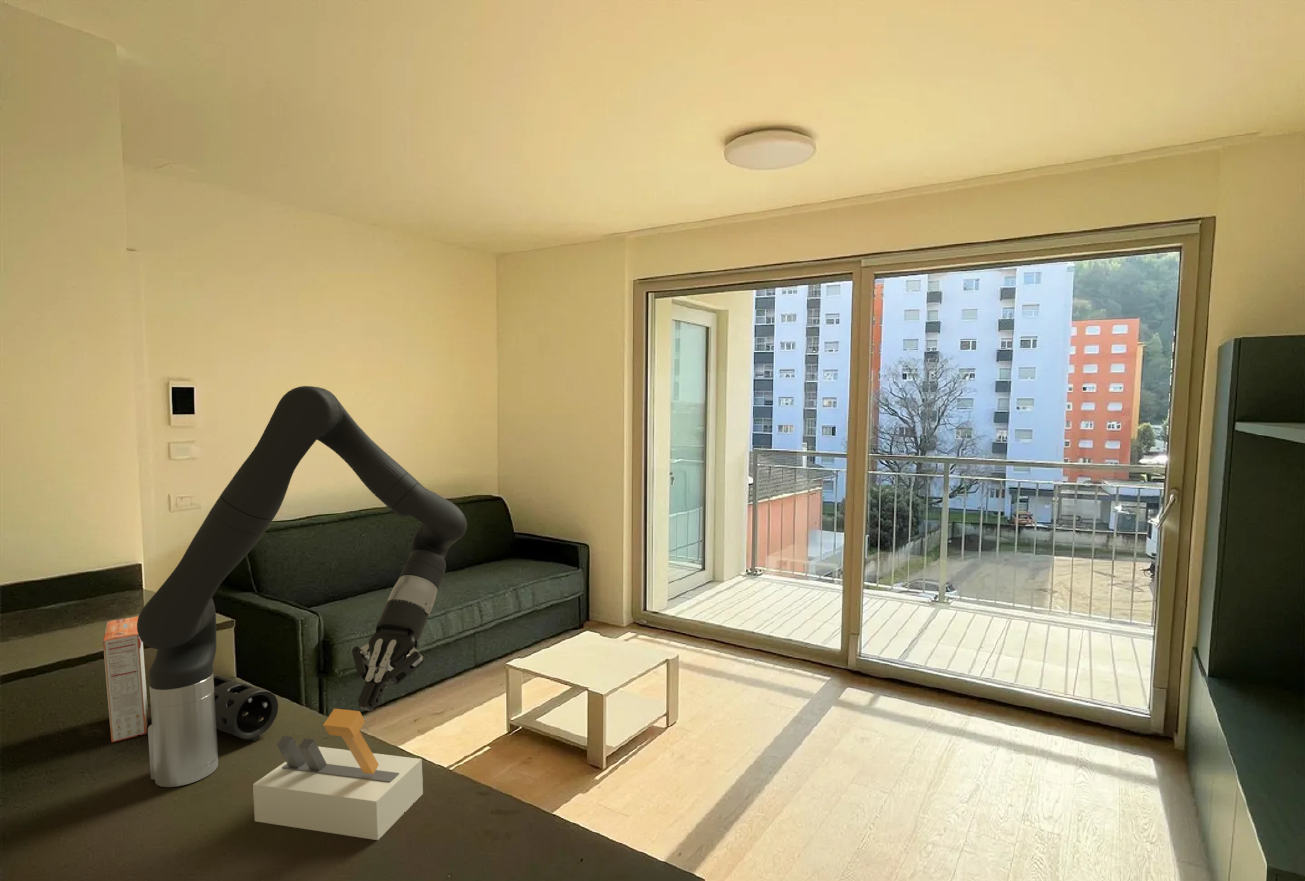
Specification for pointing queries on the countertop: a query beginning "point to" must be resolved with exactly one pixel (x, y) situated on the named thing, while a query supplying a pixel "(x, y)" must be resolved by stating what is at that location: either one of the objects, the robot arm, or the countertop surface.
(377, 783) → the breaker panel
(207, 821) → the countertop surface
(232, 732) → the muzzle brake
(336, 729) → the lever
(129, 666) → the cracker box
